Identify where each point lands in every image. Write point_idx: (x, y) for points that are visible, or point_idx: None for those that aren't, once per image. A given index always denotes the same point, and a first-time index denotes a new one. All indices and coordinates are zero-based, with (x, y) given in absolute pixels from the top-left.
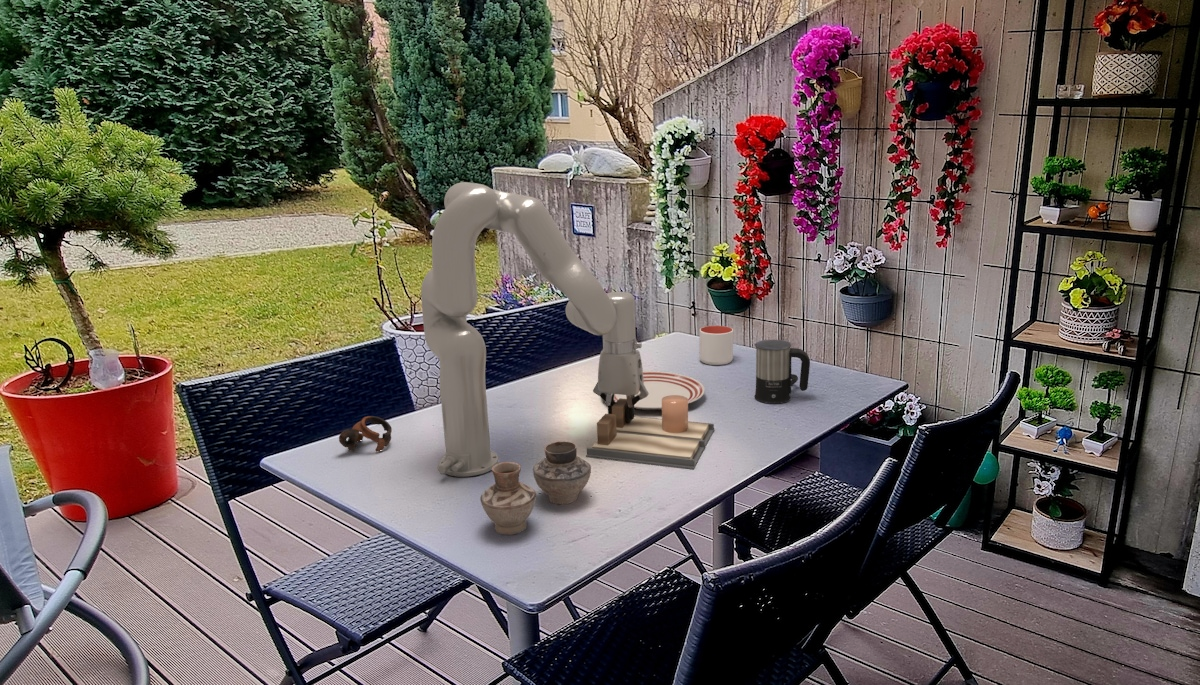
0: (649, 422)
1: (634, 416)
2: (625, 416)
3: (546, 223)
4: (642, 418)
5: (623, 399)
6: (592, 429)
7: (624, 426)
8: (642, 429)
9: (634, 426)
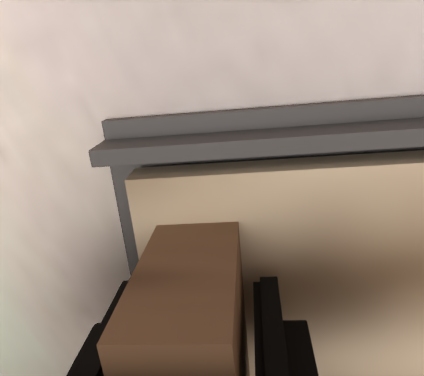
0: (415, 247)
1: (248, 145)
2: (245, 365)
3: None
4: (336, 186)
5: (161, 370)
6: (43, 295)
7: (252, 352)
8: (391, 370)
9: (320, 338)
